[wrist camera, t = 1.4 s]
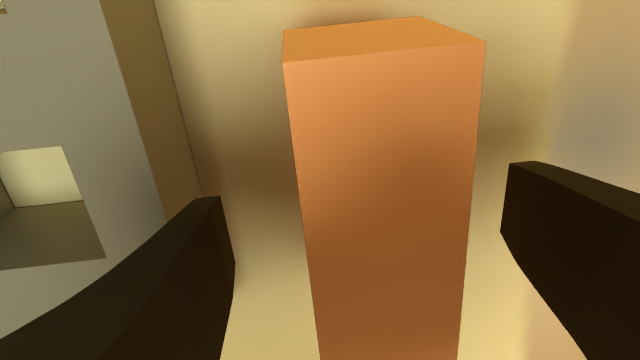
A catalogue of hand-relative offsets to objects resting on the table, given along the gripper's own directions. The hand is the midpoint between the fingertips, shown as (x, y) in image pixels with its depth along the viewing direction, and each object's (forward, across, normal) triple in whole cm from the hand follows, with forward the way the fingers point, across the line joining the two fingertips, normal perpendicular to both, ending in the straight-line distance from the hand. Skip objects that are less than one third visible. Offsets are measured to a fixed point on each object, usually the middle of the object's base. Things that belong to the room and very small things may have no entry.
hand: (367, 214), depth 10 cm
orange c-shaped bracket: (+4, 0, 0) cm, 4 cm away
